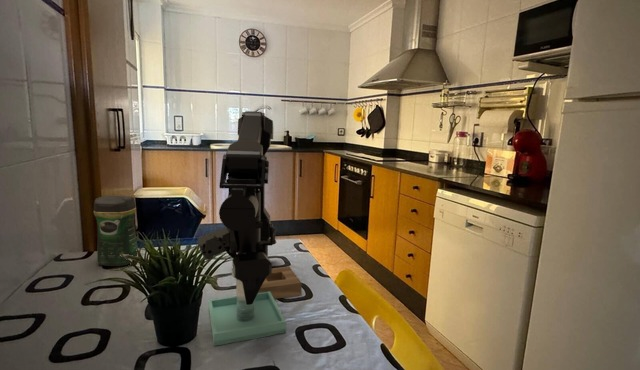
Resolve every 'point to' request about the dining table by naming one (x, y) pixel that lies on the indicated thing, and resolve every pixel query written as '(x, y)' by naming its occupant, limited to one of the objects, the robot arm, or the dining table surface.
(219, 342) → the tray
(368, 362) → the dining table surface
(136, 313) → the dining table surface
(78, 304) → the dining table surface
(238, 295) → the steel pin
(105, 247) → the coffee jar
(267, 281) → the block
